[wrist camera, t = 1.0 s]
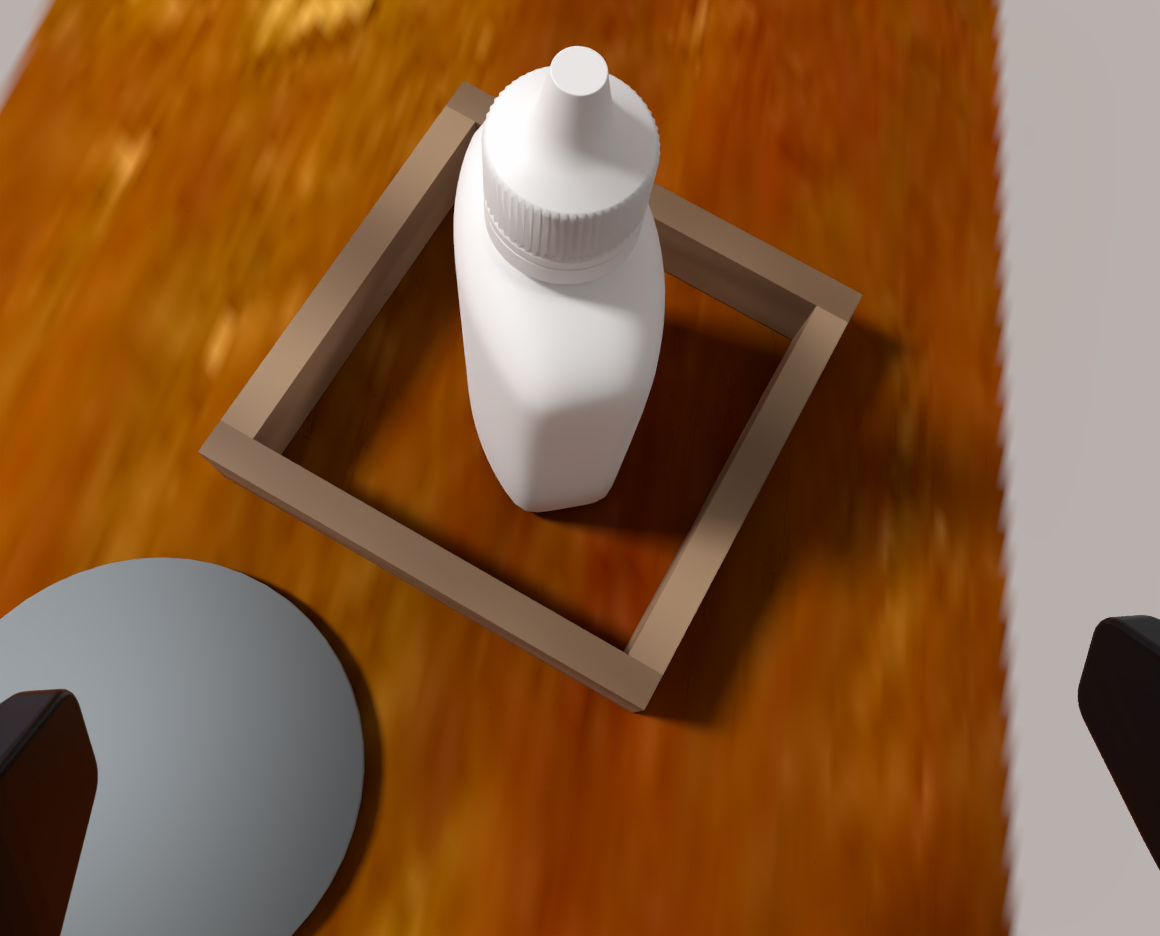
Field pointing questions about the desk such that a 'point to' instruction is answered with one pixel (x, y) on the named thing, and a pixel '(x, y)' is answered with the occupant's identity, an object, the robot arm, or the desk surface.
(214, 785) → the rubber coaster
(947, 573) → the desk surface
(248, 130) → the desk surface
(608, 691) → the walnut collar
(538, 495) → the eye dropper bottle
